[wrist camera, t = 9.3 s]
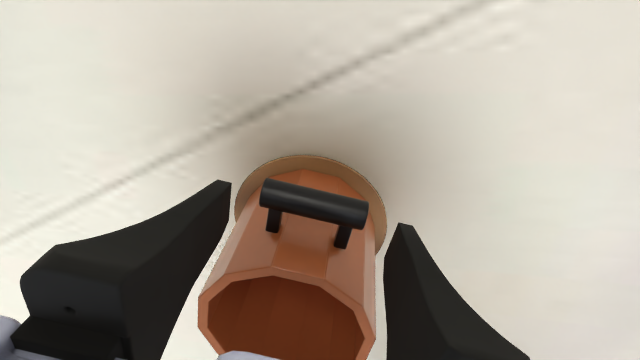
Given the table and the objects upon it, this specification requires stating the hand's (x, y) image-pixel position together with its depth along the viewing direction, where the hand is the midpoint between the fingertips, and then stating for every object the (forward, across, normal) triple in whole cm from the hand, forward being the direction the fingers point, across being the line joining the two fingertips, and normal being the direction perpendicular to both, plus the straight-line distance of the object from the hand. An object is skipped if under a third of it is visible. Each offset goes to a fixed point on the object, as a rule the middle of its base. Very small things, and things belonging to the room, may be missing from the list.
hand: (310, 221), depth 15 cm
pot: (+6, 0, +4) cm, 8 cm away
